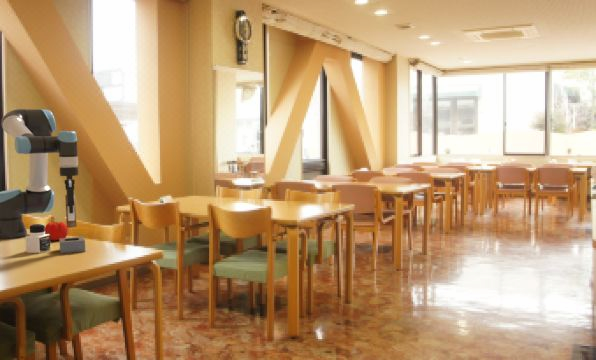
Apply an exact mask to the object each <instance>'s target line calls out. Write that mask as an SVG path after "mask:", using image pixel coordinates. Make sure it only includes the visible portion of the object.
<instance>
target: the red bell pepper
mask: <svg viewBox="0 0 596 360" xmlns="http://www.w3.org/2000/svg"><path fill="white" fill-rule="evenodd" d="M44 234H50V241H59V239H60V238H67V235H68V227H67V224H66V223H65V222H64V221H63V222H62V221H60V222H58V221H52V222H51V223H50V222H49V223H47V224H46V225H45V233H44Z"/></svg>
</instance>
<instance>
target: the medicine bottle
mask: <svg viewBox="0 0 596 360" xmlns="http://www.w3.org/2000/svg"><path fill="white" fill-rule="evenodd" d="M45 227H46V225H45V224H43V223H34V224H31V225H30V226H29V235H28V236H27V235H26V236H24V237H25V253H28V254H43V253H45V252H49V251H50V250H51V240H50V234H45Z"/></svg>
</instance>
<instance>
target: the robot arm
mask: <svg viewBox="0 0 596 360" xmlns="http://www.w3.org/2000/svg"><path fill="white" fill-rule="evenodd" d="M0 123H1V124H0V126H1V128H2V130H3V131H4V132H5V133H7V134H8V135H10V136H11V138H12V139H13V140H14V150H15V152H16V153H17V154H19V155H20V154H22V155H23V154H24V155H29V156H28V157H29V159H28V160H29V161H28V162H29V163H28V164H29V166H28V167H29V168H28V169H29V170H28V171H29V172H28V184H27V186H26V187H25V191H22V190H21V189H20V188H15V189H14V188H13V189H8V190H2V191H0V239H1V240H3V239H4V240H5V239H16V238H23V237H26V236H27V235H28V230H27V228H26V226H25V223H24V221H23V215H31V214H43V213H49V212H51V210H53V207H54V205H55V191H54V190H53V189H51V186H50V185H49V184H48V177H49V176H48V175H49V173H48V171H49V169H48V168H49V167H48V166H49V163H48V162H49V154H58V159H57V162H59V176H61V177H66V179H64V185H65V187H64V188H65V190H66V195H67V198H68V205H66V204H65V207H66V206H68V221H75V211H74V195H75V193H74V192H75V191H74V190H75V183H76V182H75V181H76V180H75V179H73V177H74V176H75V177H76V176H79V167H78V166H79V156H78V137H77V136H78V135H77V132H76V131H74V130H61V131H58V133H57V135H52V134H54V133H56V131H57V125H56V119H55V116H54V113H53V112H52V111H51V110H49V109H44V108H43V109H42V108H40V109H39V108H38V109H37V108H36V109H35V108H29V109H27V108H25V109H24V108H23V109H22V108H16V109H13V110H10V111H8V112H6V113H5V114H4V115H3V117H2V119H1V122H0Z"/></svg>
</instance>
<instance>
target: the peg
mask: <svg viewBox="0 0 596 360" xmlns="http://www.w3.org/2000/svg"><path fill="white" fill-rule="evenodd" d="M64 197H65V215H66V216H65V219H66V220H65V221H66V226H67V229H68V228H71V229H72V228H76V227H77V209H76V207H77V205H76V194H74V211H75V221H68V206H66V205H68V198H67V194H65V195H64Z"/></svg>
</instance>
